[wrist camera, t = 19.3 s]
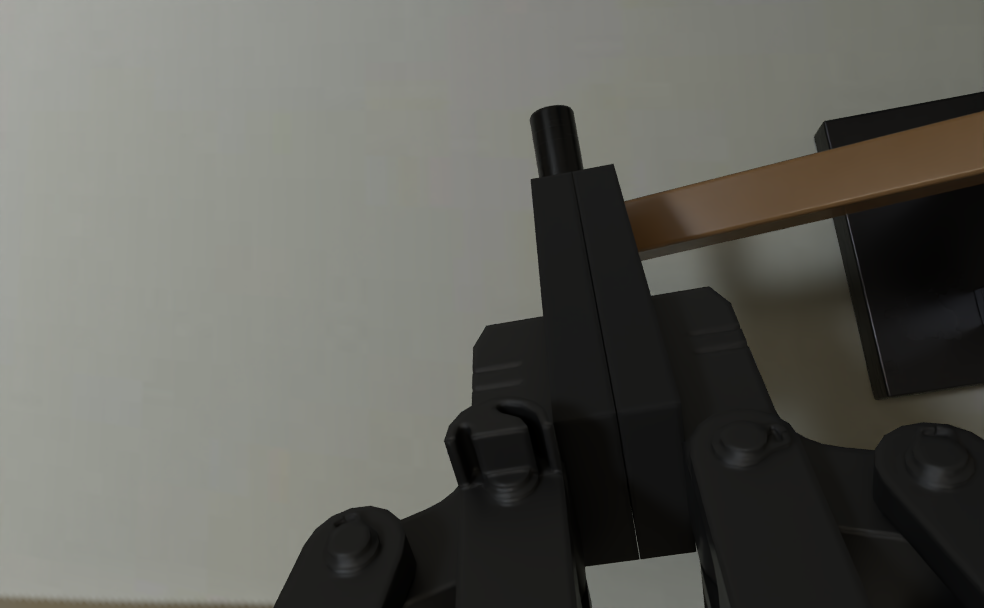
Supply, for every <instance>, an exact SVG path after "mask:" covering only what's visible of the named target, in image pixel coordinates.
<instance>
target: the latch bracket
mask: <svg viewBox="0 0 984 608" xmlns="http://www.w3.org/2000/svg"><path fill="white" fill-rule="evenodd" d="M980 111H984V92H979V93H974V94H968V95H963V96H958V97H952V98H947V99H941V100H936V101H931V102H925V103H920V104H914V105H909V106H904V107H898V108H893V109H887V110H882V111H877V112H871V113H866V114H860V115H855V116H850V117H844V118H839V119H833V120H828V121H824V122H823V123H822V125H821V126H820V128H819V130H818V131H817V133H816V134H815V136H814V138H815V143H816V147H817V151H818V152H822V151H826V150H830V149H834V148H838V147H842V146H846V145H850V144H854V143H857V142H861V141H865V140H869V139H873V138H877V137H881V136H885V135H889V134H893V133H897V132H901V131H905V130H909V129H913V128H917V127H921V126H925V125H929V124H933V123H937V122H941V121H945V120H949V119H953V118H957V117H961V116H964V115H968V114H972V113H976V112H980ZM833 220H834V225H835V229H836V233H837V238H838V242H839V246H840V250H841V255H842V259H843V263H844V268H845V272H846V276H847V281H848V285H849V289H850V294H851V298H852V302H853V307H854V311H855V315H856V320H857V324H858V328H859V333H860V337H861V341H862V345H863V350H864V354H865V358H866V363H867V367H868V371H869V376H870V380H871V384H872V389H873V393H874V397H875V399H877V400H880V399H886V398H893V397H900V396H906V395H913V394H920V393H927V392H933V391H940V390H947V389H953V388H960V387H967V386H973V385H980V384H984V184H980V185H975V186H971V187H966V188H962V189H958V190H953V191H949V192H944V193H940V194H935V195H931V196H927V197H922V198H918V199H913V200H909V201H904V202H900V203H896V204H891V205H887V206H882V207H878V208H873V209H869V210H865V211H860V212H856V213H851V214H847V215H842V216H838V217H834V218H833Z"/></svg>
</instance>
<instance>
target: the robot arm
mask: <svg viewBox="0 0 984 608" xmlns="http://www.w3.org/2000/svg"><path fill="white" fill-rule="evenodd" d="M572 173H573V178H572ZM573 179H574V183H573ZM574 185H575V188H574ZM531 188H532V199H533V210H534V221H535V232H536V243H537V253H538V264H539V275H540V286H541V297H542V308H543V316H542V317H536V318H530V319H524V320H518V321H512V322H506V323H500V324H494V325H488V326H486V327H485V329H484V331H483V332H482V334H481V335H480V337H479V339H478V340H477V342H476V344H475V345H474V347H473V377H472V389H473V393H472V406H471V407H469V408H467V409H466V410H464V411H463V412H461V413H460V414H459V415H458V416H457V417H456V419H455V420H454V421H453V422H452V423H451V424H450V425H449V428H448V431H447V434H446V437H445V440H444V442H445V445H446V448H447V451H448V454H449V457H450V461H451V464H452V467H453V470H454V473H455V476H456V479H457V482H458V485H459V486H458V487H457V488H456V489H455V490H454V492H452V493H451V494H450V495H449V496H447V497H446V498H445V499H444V500H442V501H441V502H439V503H437V504H435V505H434V506H432V507H430V508H428V509H426V510H423V511H421V512H419V513H416V514H414V515H411V516H409V517H407V518H404V519H402V520H400V519H398V518H397V517H396V516H395V515H393V514H392V513H391V512H390V511H388V510H386V509H382V508H377V507H373V506H366V507H357V508H351V509H348V510H346V511H344V512H341V513H339V514H336V515H334V516H332V517H331V518H329V519H328V520H327V521H325V522H324V523H323V524H322V525H320V526H319V527H318V528H316V529H315V531H314V532H313V534H312V535H311V536H310V538H309V539H308V540H307V542H306V543H305V545H304V546H303V548H302V551H301V553H300V555H299V557H298V559H297V561H296V563H295V565H294V567H293V569H292V571H291V573H290V575H289V577H288V579H287V581H286V583H285V585H284V587H283V589H282V591H281V593H280V595H279V597H278V599H277V601H276V603H275V606H274V608H592V603H591V598H590V594H589V589H588V585H587V580H586V573H585V567H586V566H593V565H601V564H608V563H616V562H623V561H631V560H638V559H639V553H640V558H641V559H646V558H653V557H661V556H668V555H676V554H683V553H691V552H696V546H697V550H698V554H699V558H700V564H701V574H702V584H703V594H704V604H705V608H984V440H983V439H981V438H980V437H978V436H977V435H975V434H974V433H972V432H969V431H966V430H963V429H960V428H957V427H954V426H951V425H948V424H937V423H925V422H923V423H917V424H911V425H905V426H901V427H899V428H897V429H895V430H893V431H892V432H890V433H888V434H886V435H884V437H883V438H882V440H881V441H880V443H879V444H878V446H877V447H876V449H875V450H866V449H856V448H845V447H837V446H832V445H826V444H821V443H819V442H816V441H813V440H810V439H807V438H805V437H803V436H802V435H800V434H798V433H796V432H795V431H794V429H793V428H792V427H791V425H790V424H789V423H787V422H786V421H784V420H782V419H781V418H780V417H779V415H778V414H777V412H776V410H775V408H774V406H773V403H772V401H771V399H770V396H769V394H768V391H767V389H766V387H765V384H764V382H763V379H762V377H761V375H760V372H759V370H758V367H757V365H756V363H755V360H754V358H753V355H752V353H751V351H750V348H749V346H747V341H746V339H745V336H744V334H743V332H742V329H740V324H739V322H738V320H737V317H736V315H735V312H734V310H733V308H732V305H731V303H730V302H729V301H727V300H726V299H725V298H724V297H722V296H721V295H720V294H718V293H717V292H716V291H715V290H713V289H712V288H711V287H709V286H708V287H702V288H696V289H690V290H684V291H678V292H672V293H666V294H660V295H654V296H651V295H650V291H649V288H648V284H647V281H646V277H645V274H644V270H643V266H642V263H641V259H640V256H639V252H638V249H637V245H636V242H635V238H634V235H633V231H632V228H631V224H630V221H629V217H628V213H627V210H626V206H625V203H624V199H623V196H622V192H621V189H620V185H619V182H618V178H617V175H616V171H615V168H614V164H610V165H605V166H599V167H594V168H589V169H583V170H578V171H573V172H567V173H562V174H556V175H551V176H546V177H540V178H535V179H531ZM575 191H576V194H575ZM576 197H577V199H576ZM577 203H578V205H577ZM578 209H579V210H578ZM579 215H580V216H579ZM631 509H632V510H631ZM632 514H633V516H632ZM633 520H634V522H633ZM634 525H635V528H634ZM635 531H636V534H635ZM636 536H637V541H636ZM637 542H638V547H639V553H638V547H637ZM695 542H696V544H695Z"/></svg>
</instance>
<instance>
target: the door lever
mask: <svg viewBox="0 0 984 608" xmlns="http://www.w3.org/2000/svg"><path fill="white" fill-rule="evenodd" d="M530 124H531V130H532V136H533V142H534V149H535V155H536V161H537V167H538V173H539V178H540V177H546V176H551V175H556V174H562V173H567V172H573V171H578V170H583V164H582V158H581V152H580V146H579V141H578V135H577V129H576V123H575V118H574V112H573V110H572V109H571V108H570V107H568V106H564V105H554V106H548V107H544V108H541V109H539V110H537V111H535V112H534V113H533V114H532V115H531V117H530ZM572 178H573V173H572ZM573 183H574V179H573ZM980 184H984V111H980V112H976V113H972V114H968V115H964V116H961V117H957V118H953V119H949V120H945V121H941V122H937V123H933V124H929V125H925V126H921V127H917V128H913V129H909V130H905V131H901V132H897V133H893V134H889V135H885V136H881V137H877V138H873V139H869V140H865V141H861V142H857V143H854V144H850V145H846V146H842V147H838V148H834V149H830V150H826V151H822V152H818V153H814V154H810V155H806V156H802V157H798V158H794V159H790V160H786V161H782V162H778V163H774V164H770V165H766V166H762V167H758V168H754V169H750V170H747V171H743V172H739V173H735V174H731V175H727V176H723V177H719V178H715V179H711V180H707V181H703V182H699V183H695V184H691V185H687V186H683V187H679V188H675V189H671V190H667V191H663V192H659V193H655V194H651V195H647V196H643V197H640V198H636V199H632V200H628V201H624V203H625V206H626V210H627V213H628V217H629V221H630V224H631V228H632V231H633V235H634V238H635V242H636V245H637V249H638V252H639V256H640V259H641V261H643V260H647V259H652V258H656V257H661V256H665V255H670V254H674V253H678V252H683V251H687V250H692V249H696V248H701V247H705V246H709V245H714V244H718V243H723V242H727V241H732V240H736V239H740V238H745V237H749V236H754V235H758V234H763V233H767V232H771V231H776V230H780V229H785V228H789V227H794V226H798V225H803V224H807V223H811V222H816V221H820V220H825V219H829V218H834V217H838V216H842V215H847V214H851V213H856V212H860V211H865V210H869V209H873V208H878V207H882V206H887V205H891V204H896V203H900V202H904V201H909V200H913V199H918V198H922V197H927V196H931V195H935V194H940V193H944V192H949V191H953V190H958V189H962V188H966V187H971V186H975V185H980ZM574 188H575V185H574ZM575 194H576V191H575ZM576 199H577V197H576ZM577 205H578V203H577ZM578 210H579V209H578ZM579 216H580V215H579Z"/></svg>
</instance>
